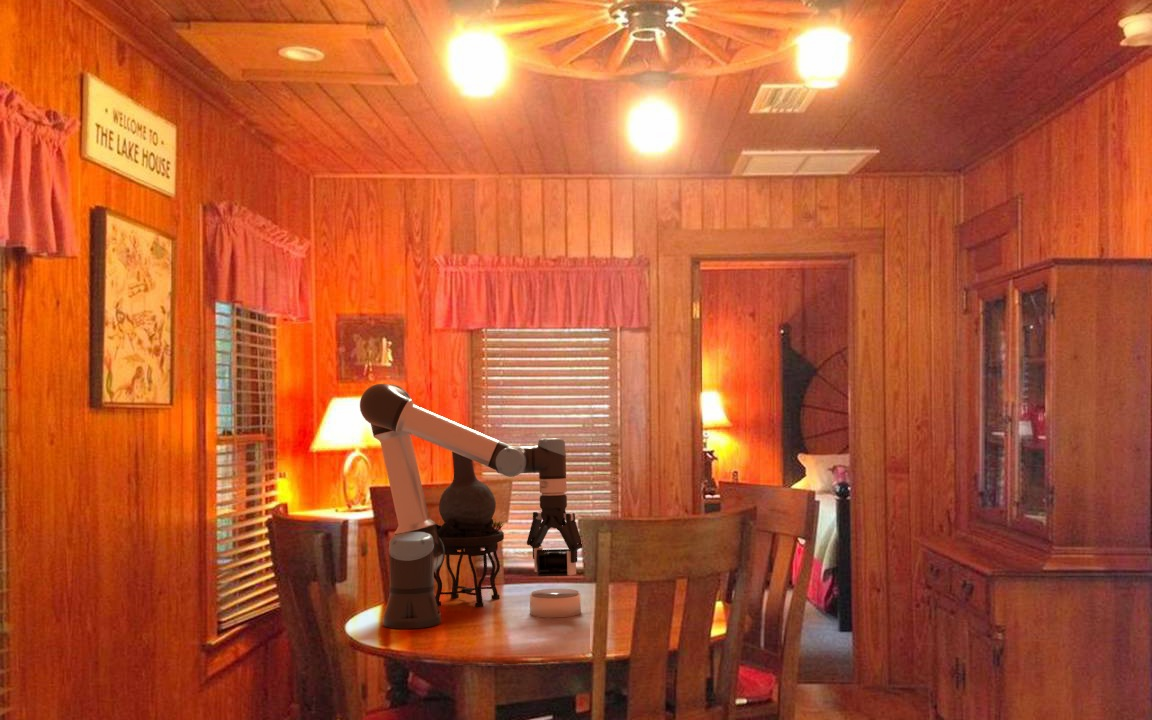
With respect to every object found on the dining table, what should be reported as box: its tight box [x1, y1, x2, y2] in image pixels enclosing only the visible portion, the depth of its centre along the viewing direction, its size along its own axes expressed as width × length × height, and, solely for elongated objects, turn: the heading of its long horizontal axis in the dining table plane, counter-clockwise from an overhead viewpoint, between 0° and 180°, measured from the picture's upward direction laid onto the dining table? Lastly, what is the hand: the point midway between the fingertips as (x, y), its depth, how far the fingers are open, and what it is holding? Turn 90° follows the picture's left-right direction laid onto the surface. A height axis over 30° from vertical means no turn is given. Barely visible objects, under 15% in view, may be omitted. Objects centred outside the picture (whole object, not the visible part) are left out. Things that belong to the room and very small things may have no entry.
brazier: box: [434, 451, 505, 608], centre depth 314 cm, size 22×22×45 cm
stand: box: [529, 588, 582, 619], centre depth 292 cm, size 14×14×6 cm
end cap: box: [537, 548, 572, 577], centre depth 292 cm, size 10×7×7 cm
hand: (555, 573), depth 292 cm, fingers closed on end cap, 12 cm apart
